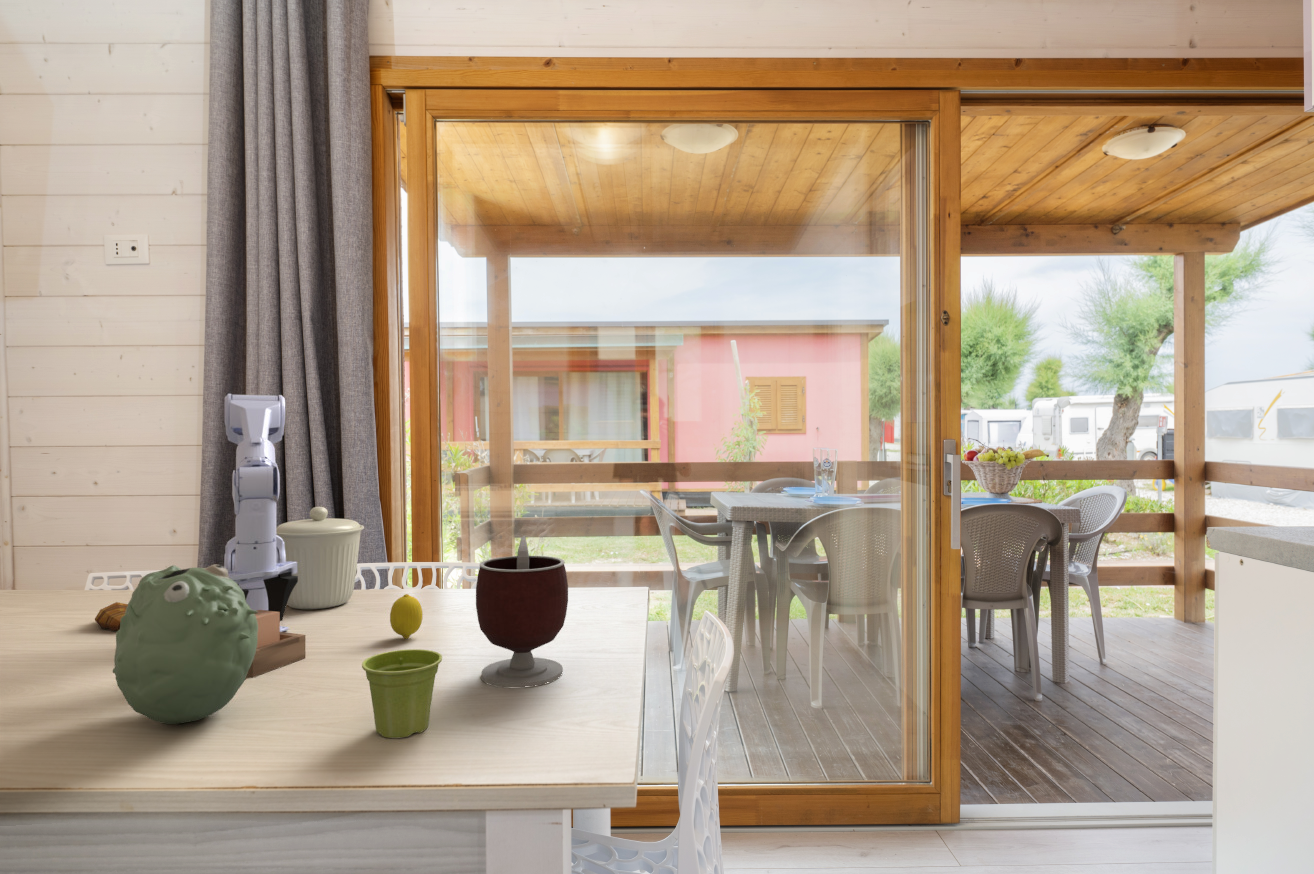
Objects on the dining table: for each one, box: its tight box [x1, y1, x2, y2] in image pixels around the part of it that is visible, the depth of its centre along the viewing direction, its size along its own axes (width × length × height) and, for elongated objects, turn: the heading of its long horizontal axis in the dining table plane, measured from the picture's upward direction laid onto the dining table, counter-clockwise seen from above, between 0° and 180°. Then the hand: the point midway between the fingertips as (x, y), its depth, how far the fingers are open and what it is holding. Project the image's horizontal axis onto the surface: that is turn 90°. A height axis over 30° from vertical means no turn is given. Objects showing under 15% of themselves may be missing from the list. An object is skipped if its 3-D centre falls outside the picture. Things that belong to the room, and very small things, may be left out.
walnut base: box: [246, 631, 306, 678], centre depth 116 cm, size 10×10×4 cm
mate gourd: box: [475, 535, 569, 688], centre depth 112 cm, size 16×14×20 cm
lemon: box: [389, 593, 424, 640], centre depth 130 cm, size 6×6×8 cm
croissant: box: [94, 601, 128, 633], centre depth 138 cm, size 14×7×5 cm, turn 54°
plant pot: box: [361, 648, 443, 739], centre depth 90 cm, size 9×9×9 cm
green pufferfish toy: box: [112, 563, 258, 725], centre depth 93 cm, size 16×19×20 cm
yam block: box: [255, 610, 281, 648], centre depth 115 cm, size 4×4×5 cm
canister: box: [276, 506, 365, 610], centre depth 156 cm, size 18×18×21 cm
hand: (256, 626), depth 116 cm, fingers open, 7 cm apart
